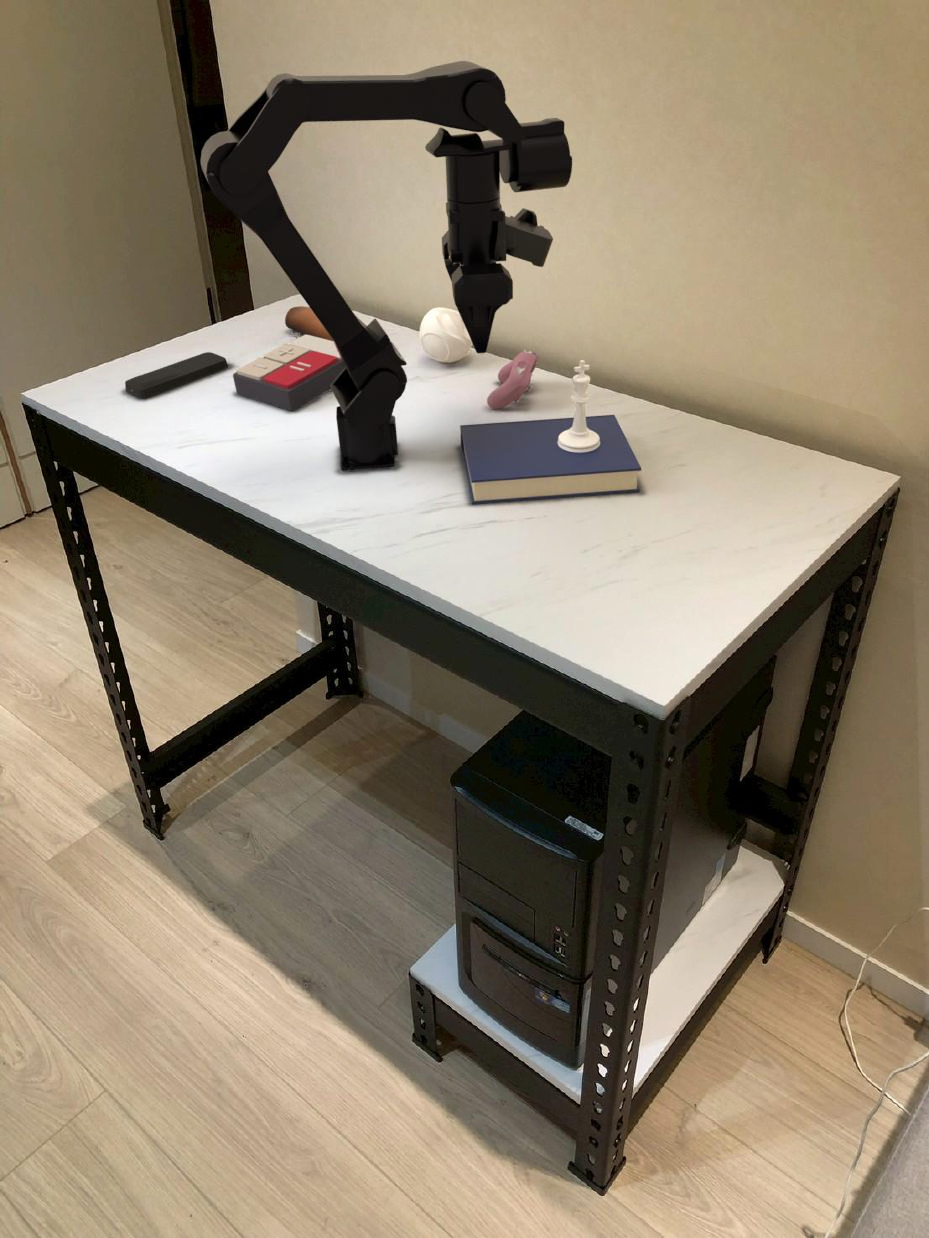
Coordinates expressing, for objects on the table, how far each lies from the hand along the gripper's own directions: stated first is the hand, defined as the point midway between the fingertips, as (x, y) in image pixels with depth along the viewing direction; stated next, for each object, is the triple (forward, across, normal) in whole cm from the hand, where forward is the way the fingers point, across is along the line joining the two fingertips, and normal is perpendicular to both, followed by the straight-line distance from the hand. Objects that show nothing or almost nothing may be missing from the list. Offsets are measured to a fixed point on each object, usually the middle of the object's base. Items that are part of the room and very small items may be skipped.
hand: (477, 338), depth 115 cm
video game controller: (+13, +12, -6) cm, 19 cm away
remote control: (+13, +26, +41) cm, 50 cm away
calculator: (+13, +21, +23) cm, 34 cm away
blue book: (+13, -9, -7) cm, 17 cm away
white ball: (+13, +26, +2) cm, 29 cm away
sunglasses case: (+13, +37, +18) cm, 43 cm away
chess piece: (+10, -9, -11) cm, 17 cm away
